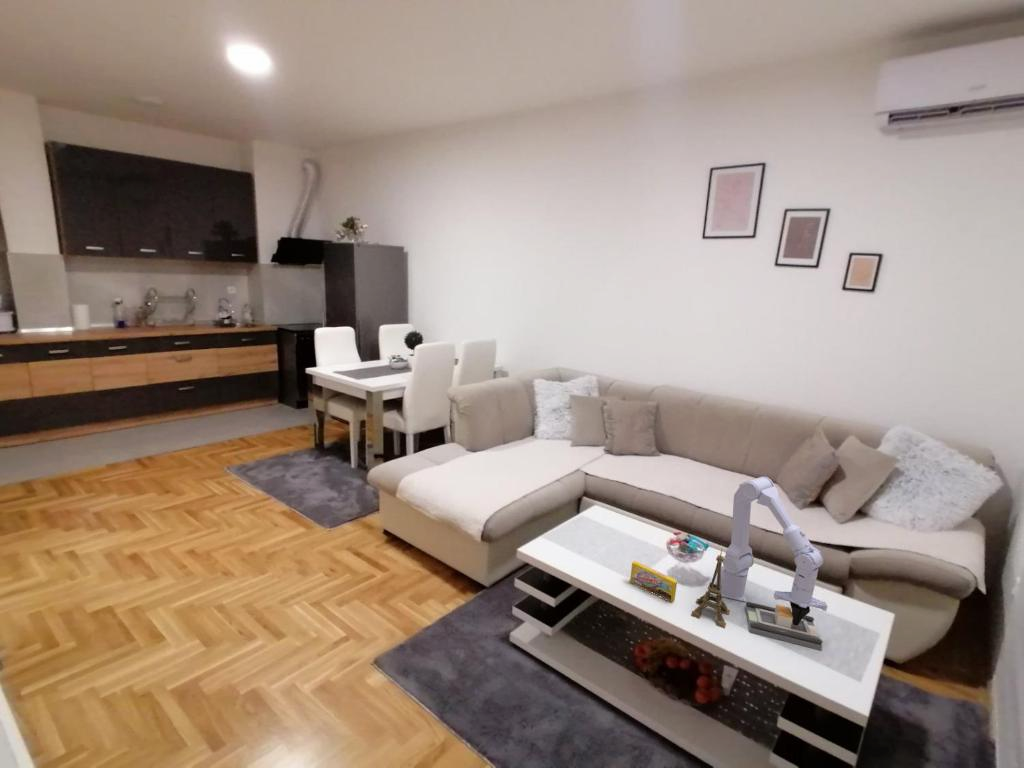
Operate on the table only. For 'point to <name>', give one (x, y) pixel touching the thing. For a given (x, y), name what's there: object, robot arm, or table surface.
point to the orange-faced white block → (783, 616)
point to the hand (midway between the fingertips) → (795, 623)
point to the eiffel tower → (713, 597)
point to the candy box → (653, 581)
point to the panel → (781, 627)
